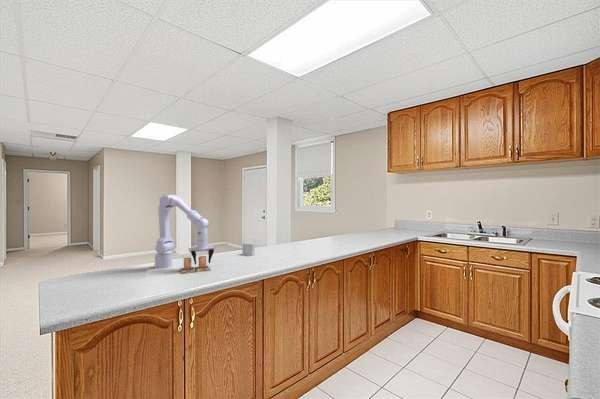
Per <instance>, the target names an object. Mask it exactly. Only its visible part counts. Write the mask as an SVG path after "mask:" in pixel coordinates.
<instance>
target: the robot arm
mask: <svg viewBox="0 0 600 399" xmlns="http://www.w3.org/2000/svg"><path fill="white" fill-rule="evenodd" d="M173 207H177V208H178V209H179V210H181V211H182V212H183V213H184V214H186V218H187V219H188V220H189V221H190V222H192V223H193V224H194V227H195V230H196V247H190V248H189V247H188V253H190V254H191V257H192V258H193V262H194V265H196V266H197V253H196V252H205V251H208V253H207V254H208V259H207V261H208V263H209V264H210V263H211V261H212V258H213V255H214V252H215V251H216V245H215V246H211V245H210V246H208V227H210V221H209V219H207V218H204V216H201V215H200V214H199V213H198V211H197V210H194V209H193V210H192V209H191V208H190V207H189V206H188V205H187V204H186V203H185V202H184V201H183V200H182V198H181V197H180V196H179V195H177V194H163V195H162V196H161V197H160V198H159V205H158V224H159V227H158V228H159V238H158V239H157V240H156V246H155V252H156V253H155V254H154V265H153V266H154V269H155V270H156V269H157V270H158V269H168V268H171V267H173V253H174V252H173V251H174V250H175V247H176V246H175V243H174V239H173V238H172V237H171V229H170V226H171V225H170V214H169V213H170V210H171V209H172V208H173Z"/></svg>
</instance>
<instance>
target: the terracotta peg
mask: <svg viewBox="0 0 600 399" xmlns="http://www.w3.org/2000/svg"><path fill="white" fill-rule="evenodd" d="M206 265H207V256H205V255H201V256H198V266H199V269H203V268H206Z"/></svg>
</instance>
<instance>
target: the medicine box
mask: <svg viewBox="0 0 600 399" xmlns="http://www.w3.org/2000/svg"><path fill="white" fill-rule="evenodd" d="M255 244H256V243H255V242H243V243H242V245H241V246H242V256H250V257H252V256H255V255H256V251H255V250H256V248H255V247H256V246H255Z"/></svg>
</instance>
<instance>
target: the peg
mask: <svg viewBox="0 0 600 399" xmlns="http://www.w3.org/2000/svg"><path fill="white" fill-rule="evenodd" d="M191 267H192V257H184V258H183V268H184V271H185V270H191Z"/></svg>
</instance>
